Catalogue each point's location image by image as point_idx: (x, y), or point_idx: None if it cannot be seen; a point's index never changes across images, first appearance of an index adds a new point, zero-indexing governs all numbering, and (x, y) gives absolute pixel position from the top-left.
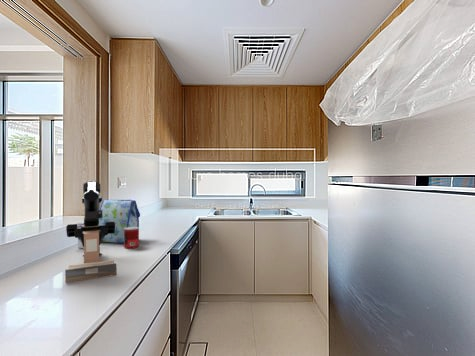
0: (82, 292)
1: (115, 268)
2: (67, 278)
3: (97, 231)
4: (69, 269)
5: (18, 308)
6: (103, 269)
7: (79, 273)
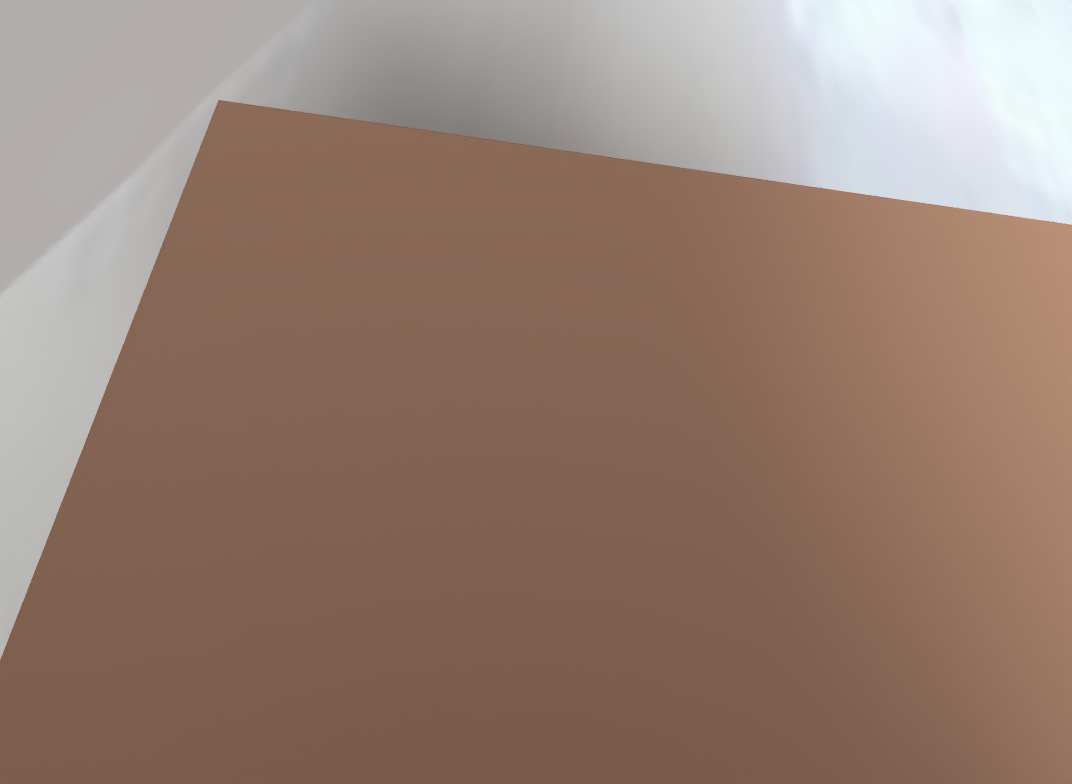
0: (664, 71)
1: None
2: None
3: (102, 769)
4: None
5: (1037, 38)
6: None
7: None
